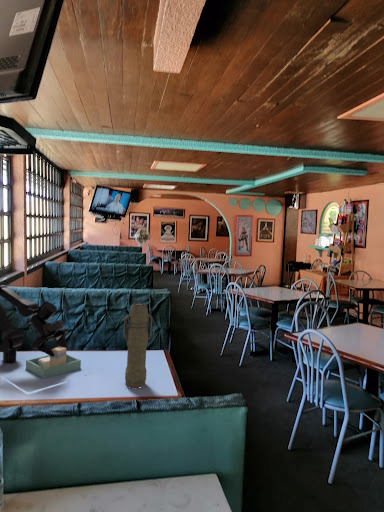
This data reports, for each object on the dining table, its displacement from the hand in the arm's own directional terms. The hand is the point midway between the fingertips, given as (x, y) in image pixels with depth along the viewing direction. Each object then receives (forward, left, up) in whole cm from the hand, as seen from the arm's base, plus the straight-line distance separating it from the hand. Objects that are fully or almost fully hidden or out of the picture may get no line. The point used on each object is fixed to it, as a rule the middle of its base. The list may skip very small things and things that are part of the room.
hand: (60, 353), depth 163 cm
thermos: (+33, +15, -9) cm, 38 cm away
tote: (-5, -1, -9) cm, 10 cm away
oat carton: (-1, 0, -8) cm, 8 cm away
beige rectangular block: (-9, -1, -8) cm, 12 cm away
